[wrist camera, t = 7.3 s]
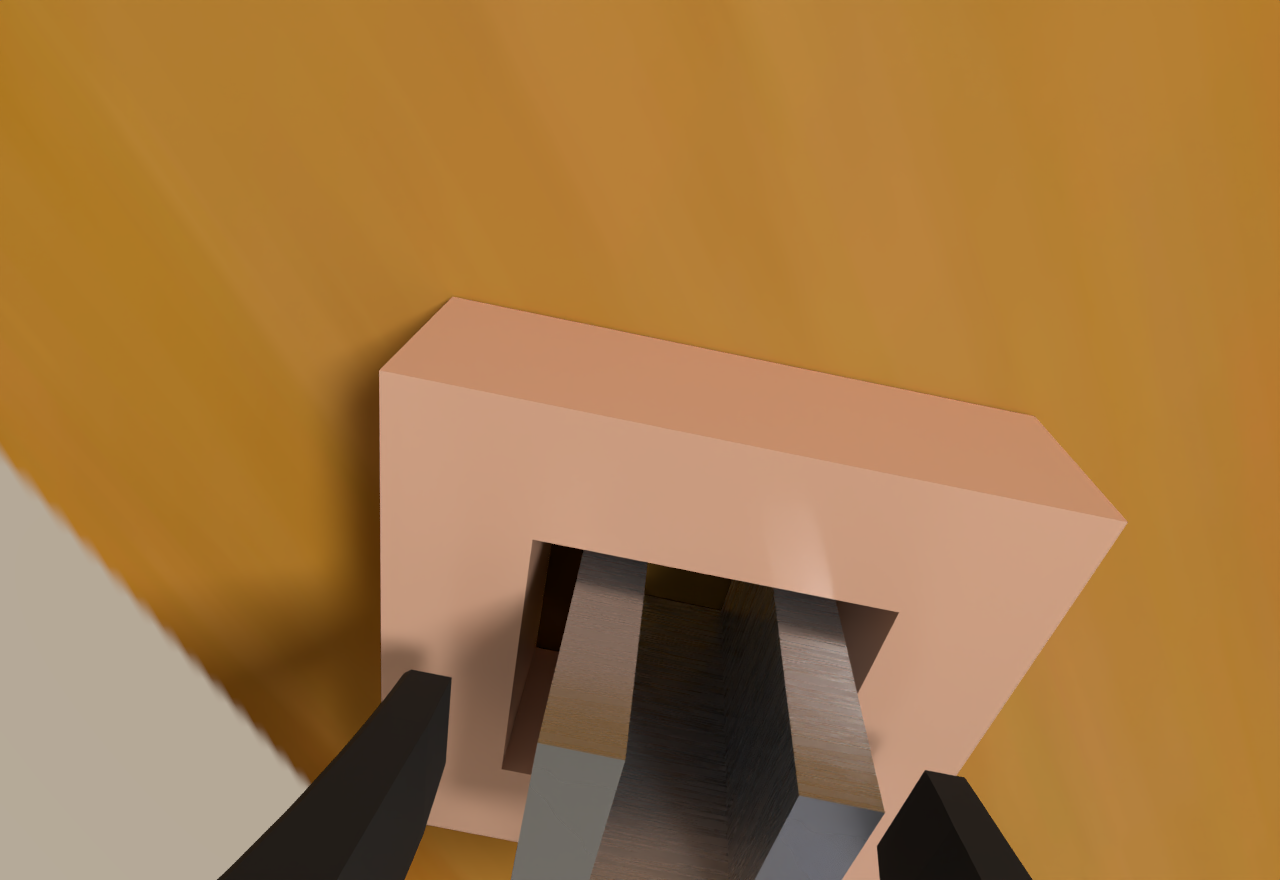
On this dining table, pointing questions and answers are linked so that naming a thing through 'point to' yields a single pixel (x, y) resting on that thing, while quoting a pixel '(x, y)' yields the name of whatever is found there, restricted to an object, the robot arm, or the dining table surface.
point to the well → (711, 529)
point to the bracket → (698, 739)
